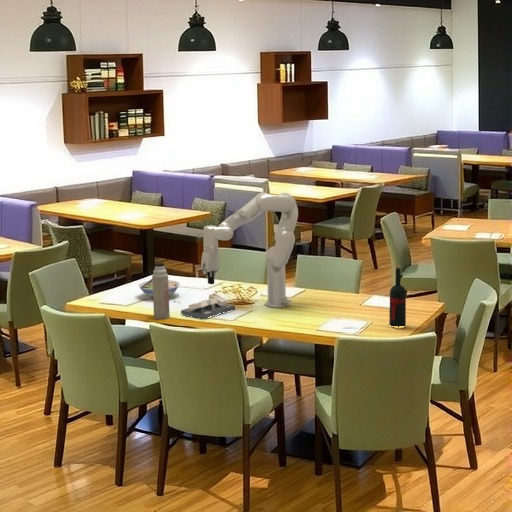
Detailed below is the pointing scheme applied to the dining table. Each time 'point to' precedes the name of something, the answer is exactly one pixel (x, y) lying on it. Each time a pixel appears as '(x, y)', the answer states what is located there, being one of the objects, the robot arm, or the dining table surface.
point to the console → (207, 310)
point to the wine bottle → (397, 303)
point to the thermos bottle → (160, 292)
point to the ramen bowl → (148, 287)
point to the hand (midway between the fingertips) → (211, 283)
